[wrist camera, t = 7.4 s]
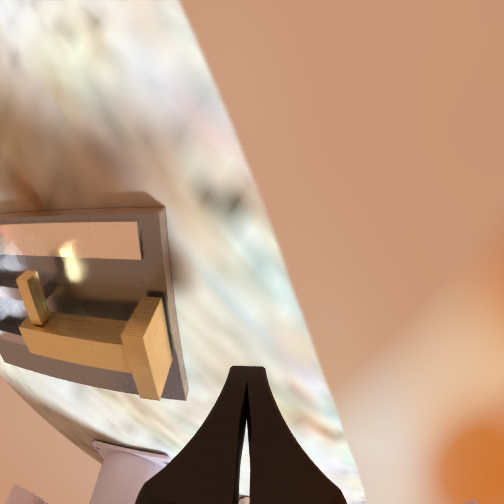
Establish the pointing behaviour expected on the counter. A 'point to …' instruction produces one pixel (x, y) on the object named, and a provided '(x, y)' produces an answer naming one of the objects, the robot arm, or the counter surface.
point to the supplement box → (244, 500)
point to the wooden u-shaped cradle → (100, 338)
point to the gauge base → (88, 282)
